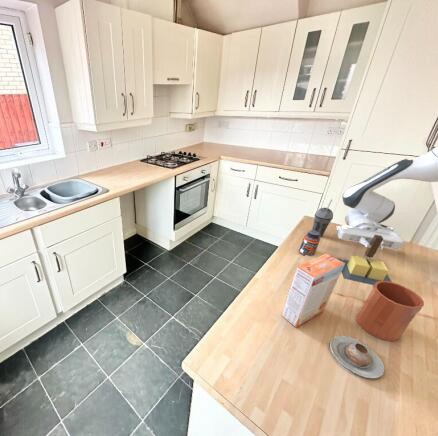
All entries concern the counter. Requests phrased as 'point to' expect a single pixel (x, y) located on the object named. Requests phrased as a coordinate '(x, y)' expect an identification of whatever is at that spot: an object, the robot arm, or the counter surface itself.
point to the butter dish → (357, 278)
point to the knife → (373, 247)
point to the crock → (388, 310)
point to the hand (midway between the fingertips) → (374, 247)
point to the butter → (367, 268)
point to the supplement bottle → (310, 243)
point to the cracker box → (311, 289)
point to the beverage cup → (322, 219)
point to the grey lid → (357, 357)
